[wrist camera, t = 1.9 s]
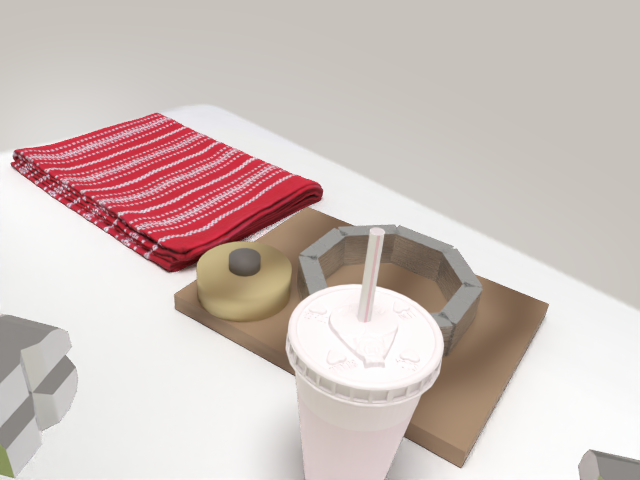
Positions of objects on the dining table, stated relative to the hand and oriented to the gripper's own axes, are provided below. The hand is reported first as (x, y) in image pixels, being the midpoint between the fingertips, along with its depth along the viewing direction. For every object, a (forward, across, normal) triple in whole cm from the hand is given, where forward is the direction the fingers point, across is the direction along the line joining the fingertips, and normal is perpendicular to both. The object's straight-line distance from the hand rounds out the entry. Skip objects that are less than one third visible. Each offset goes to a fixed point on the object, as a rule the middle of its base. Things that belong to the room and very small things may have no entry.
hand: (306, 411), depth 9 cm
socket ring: (+25, 0, +17) cm, 30 cm away
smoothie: (+12, 0, +18) cm, 22 cm away
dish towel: (+37, +22, +19) cm, 47 cm away
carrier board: (+25, +2, +18) cm, 31 cm away
